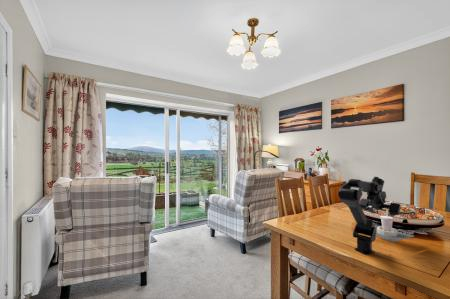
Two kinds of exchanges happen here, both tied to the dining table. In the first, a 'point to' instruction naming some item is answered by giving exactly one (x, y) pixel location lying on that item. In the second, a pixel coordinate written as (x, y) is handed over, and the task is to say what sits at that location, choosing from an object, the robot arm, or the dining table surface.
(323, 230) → the dining table surface
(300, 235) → the dining table surface
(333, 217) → the dining table surface
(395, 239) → the mat
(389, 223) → the smoothie
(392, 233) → the collar
